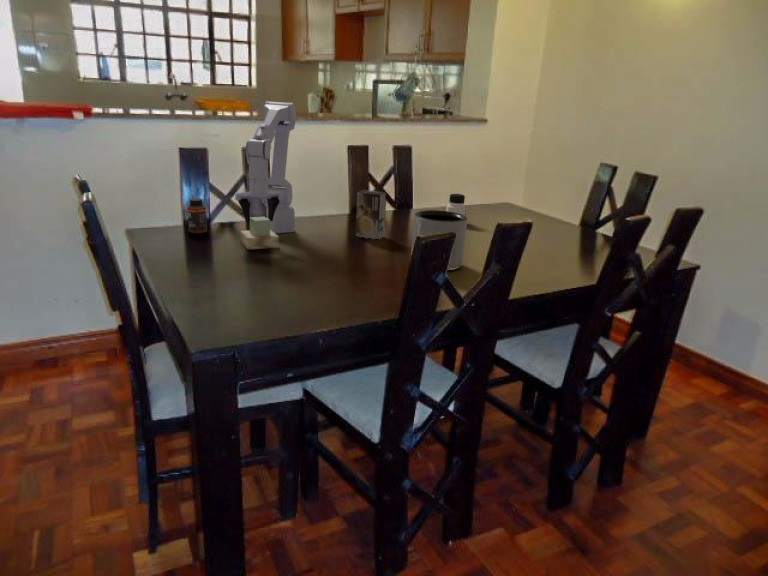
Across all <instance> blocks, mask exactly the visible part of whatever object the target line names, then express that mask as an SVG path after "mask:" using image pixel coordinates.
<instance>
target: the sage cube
mask: <svg viewBox="0 0 768 576" xmlns="http://www.w3.org/2000/svg"><path fill="white" fill-rule="evenodd" d="M249 230H250V233H251V234H253V235H254V236H264V235H270V219H268V218H267V216H265V215H264V216H254V217H253V216H250V223H249Z"/></svg>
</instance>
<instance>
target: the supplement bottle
mask: <svg viewBox="0 0 768 576" xmlns="http://www.w3.org/2000/svg"><path fill="white" fill-rule="evenodd" d="M189 203H190V204H189V205H188V206H187V221H188V231H189V233H191V234H204V233H206V232H207V231H208V230H207V229H208V227H207V210H206V206H205V205H204V204H203V203H204V202H203V199H202V198H190V199H189Z"/></svg>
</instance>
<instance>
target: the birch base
mask: <svg viewBox="0 0 768 576" xmlns="http://www.w3.org/2000/svg"><path fill="white" fill-rule="evenodd" d="M239 234H240V242H241V244H242V245H243V246H244V248H245V249H247V250H259V249H260V250H262V249H275V248H276V249H277V248H280V247H279V246H280V245H279V244H280V241H279V239H280V237H279V235H278V234H277V233H274V232H273V231H272V230H271V229H270V235H264V236H254V235H253V234H251V233H250V229H249V230H240V233H239Z"/></svg>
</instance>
